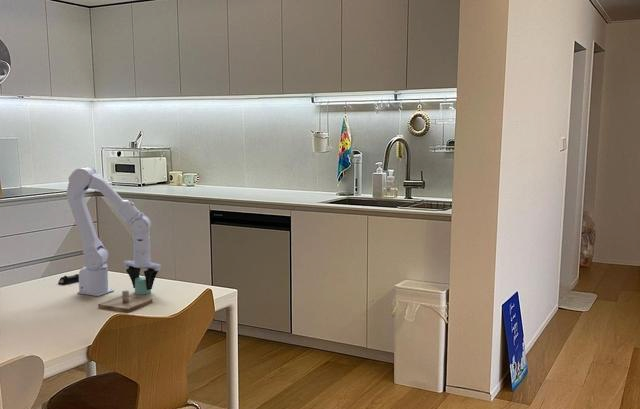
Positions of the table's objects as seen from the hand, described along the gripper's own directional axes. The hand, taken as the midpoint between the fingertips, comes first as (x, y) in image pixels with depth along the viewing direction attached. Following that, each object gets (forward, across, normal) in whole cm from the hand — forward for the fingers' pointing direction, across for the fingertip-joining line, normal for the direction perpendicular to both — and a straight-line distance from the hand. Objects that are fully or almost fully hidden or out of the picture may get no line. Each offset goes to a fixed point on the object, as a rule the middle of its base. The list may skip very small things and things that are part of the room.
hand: (142, 288), depth 213 cm
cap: (+1, 0, 0) cm, 1 cm away
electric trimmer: (+2, -32, +3) cm, 33 cm away
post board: (+1, +5, -15) cm, 16 cm away
